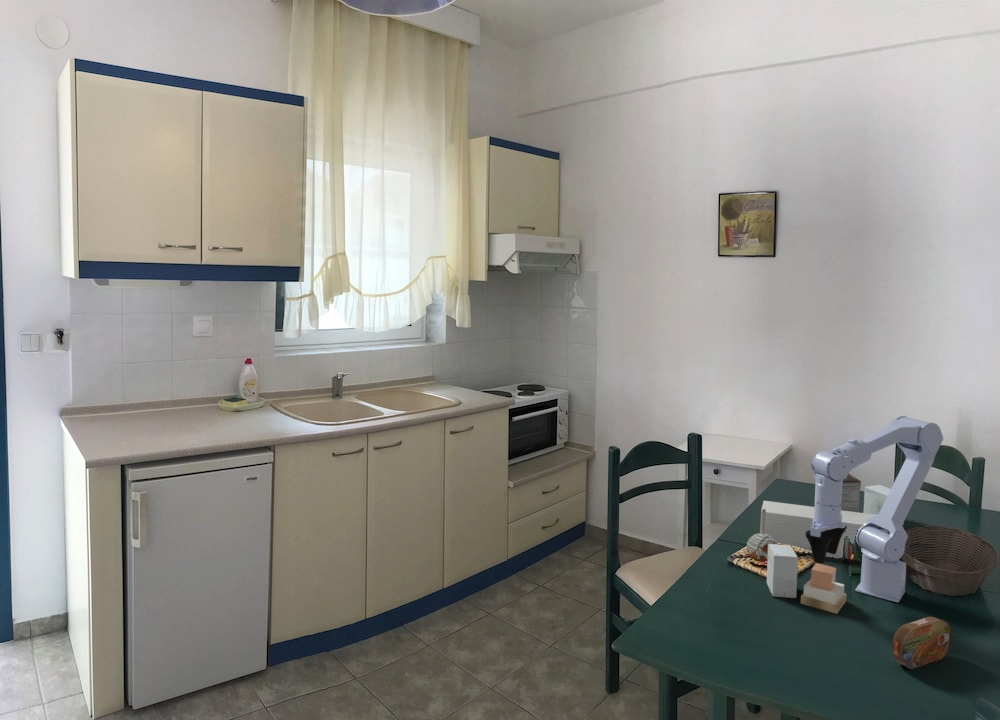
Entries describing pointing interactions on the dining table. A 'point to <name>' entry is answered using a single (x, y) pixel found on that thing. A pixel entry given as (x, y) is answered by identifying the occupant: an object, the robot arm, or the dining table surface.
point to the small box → (782, 570)
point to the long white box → (804, 524)
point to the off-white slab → (824, 592)
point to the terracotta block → (823, 576)
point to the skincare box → (875, 498)
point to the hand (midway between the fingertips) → (824, 557)
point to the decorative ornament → (760, 543)
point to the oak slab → (824, 603)
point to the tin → (922, 642)
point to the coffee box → (850, 494)
